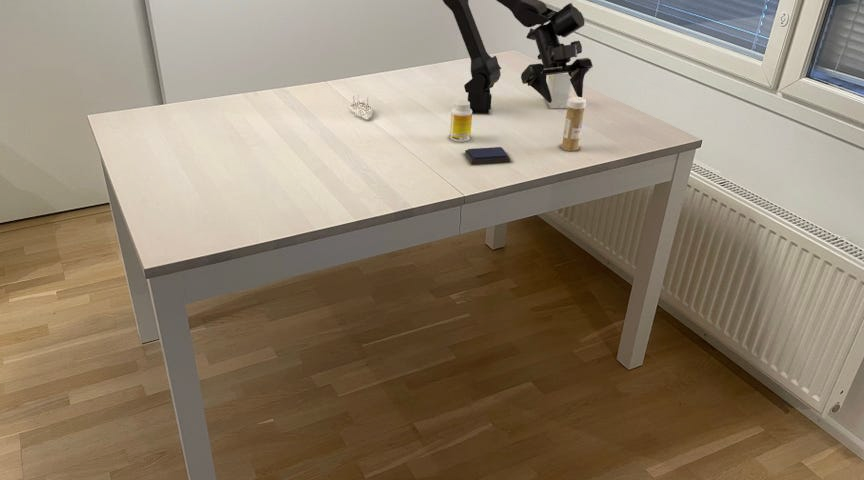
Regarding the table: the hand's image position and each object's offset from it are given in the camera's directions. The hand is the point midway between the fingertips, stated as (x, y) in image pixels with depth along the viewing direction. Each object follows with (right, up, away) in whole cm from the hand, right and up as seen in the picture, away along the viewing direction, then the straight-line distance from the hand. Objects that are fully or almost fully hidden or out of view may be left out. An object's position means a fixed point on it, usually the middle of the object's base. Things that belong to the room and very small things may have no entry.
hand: (565, 100), depth 189 cm
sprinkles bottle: (+2, -12, +2) cm, 13 cm away
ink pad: (-21, -16, -4) cm, 27 cm away
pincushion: (-54, +1, +22) cm, 59 cm away
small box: (+5, +6, +30) cm, 31 cm away
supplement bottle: (-27, -9, +7) cm, 29 cm away
